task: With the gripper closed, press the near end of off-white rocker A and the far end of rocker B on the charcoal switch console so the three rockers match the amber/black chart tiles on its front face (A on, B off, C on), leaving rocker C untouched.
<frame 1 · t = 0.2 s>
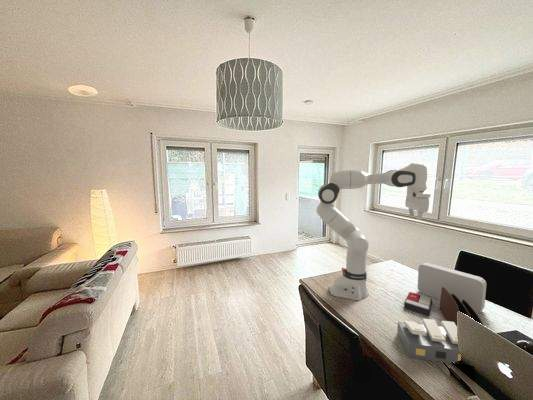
hand: (415, 217, 122), 48 cm above the table, fingers open, 8 cm apart
switch console: (432, 348, 91), on the table
letter holder: (458, 323, 105), on the table
rounded white slab: (447, 301, 123), on the table
rocker A: (414, 327, 91), point 9 cm above the table, hinge at -14.0°
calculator: (418, 306, 120), on the table
rocker C: (453, 332, 88), point 9 cm above the table, hinge at 14.0°
rocker B: (433, 329, 90), point 9 cm above the table, hinge at 14.0°
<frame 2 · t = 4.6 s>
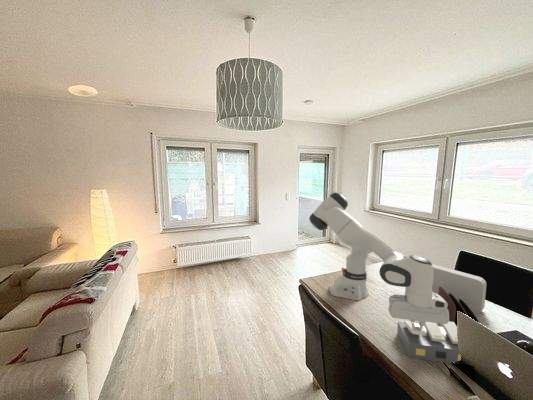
hand: (416, 329, 88), 10 cm above the table, fingers closed, pressing on rocker A
letter holder: (455, 323, 106), on the table
rocker A: (414, 327, 91), point 9 cm above the table, hinge at -14.0°, touching gripper
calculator: (420, 308, 118), on the table
everything else where it was.
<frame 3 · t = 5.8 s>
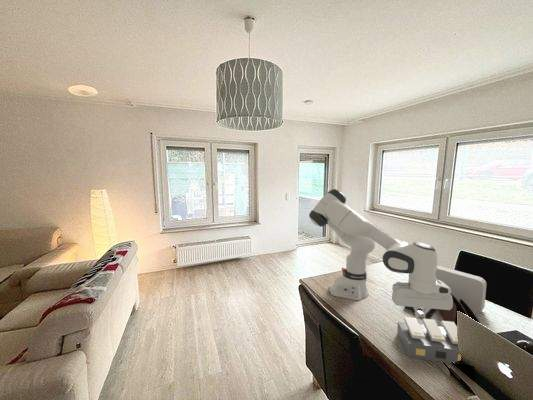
hand: (420, 316, 87), 16 cm above the table, fingers closed
rocker A: (414, 327, 91), point 9 cm above the table, hinge at 11.1°
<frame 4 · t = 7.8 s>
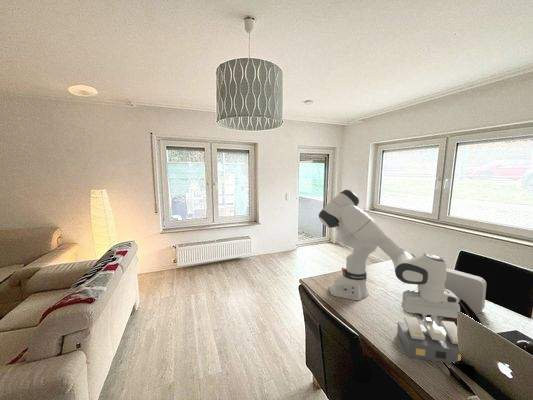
hand: (428, 322, 93), 9 cm above the table, fingers closed, pressing on rocker B
rocker A: (414, 327, 91), point 9 cm above the table, hinge at 16.2°
rocker B: (433, 329, 90), point 9 cm above the table, hinge at 3.5°, touching gripper
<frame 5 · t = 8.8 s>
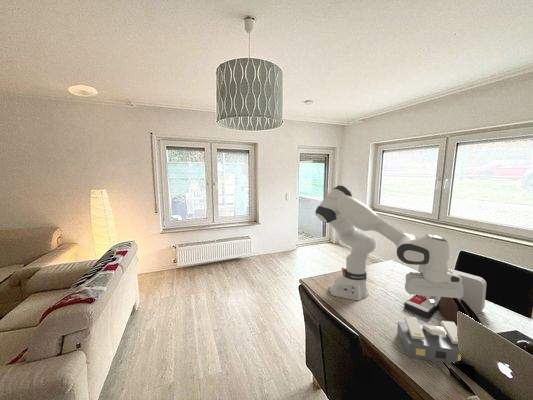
hand: (431, 304, 92), 17 cm above the table, fingers closed
rocker A: (414, 327, 91), point 9 cm above the table, hinge at 16.5°
rocker B: (433, 329, 90), point 9 cm above the table, hinge at -23.7°, touching switch console
everything else where it was.
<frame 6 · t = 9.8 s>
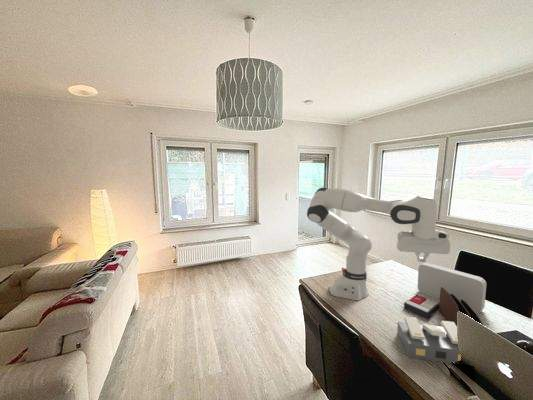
hand: (421, 261, 100), 32 cm above the table, fingers closed
rocker B: (433, 329, 90), point 9 cm above the table, hinge at -20.8°
everything else where it was.
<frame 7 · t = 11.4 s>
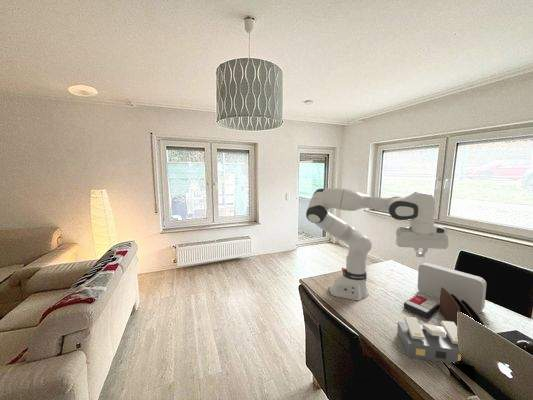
hand: (420, 256, 101), 34 cm above the table, fingers closed
rocker B: (433, 329, 90), point 9 cm above the table, hinge at -19.7°
at the end: rocker A at +17° (first picture: -14°); rocker B at -20° (first picture: +14°); rocker C at +14° (first picture: +14°) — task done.
